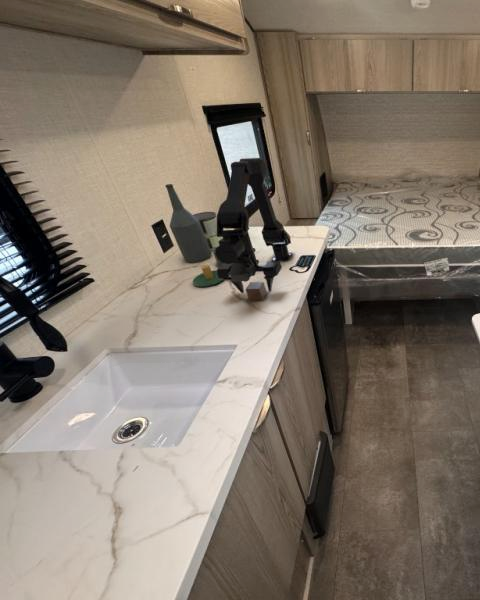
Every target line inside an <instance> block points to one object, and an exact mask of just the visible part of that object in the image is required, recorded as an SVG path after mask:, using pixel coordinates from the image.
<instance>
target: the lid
mask: <svg viewBox="0 0 480 600" xmlns="http://www.w3.org/2000/svg"><path fill="white" fill-rule="evenodd" d="M200 269H201V271H202V272H201V273H200V274H198V275H196V276H195V277H194V278H193V279H192V284H193V285H194V286H195V287H208V286H209V287H210V286H214V285H216V284H219V283H221V282H222V281H224V280H223V278H218V276H217V274H216V271H217V269H216V270H212V268H211V266H210V265H209V264H205V265H203V266H201V268H200Z"/></svg>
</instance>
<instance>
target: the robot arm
mask: <svg viewBox="0 0 480 600" xmlns="http://www.w3.org/2000/svg"><path fill="white" fill-rule="evenodd" d="M230 169H231V174H230V177H229V178H230V179H229V186H228V191H227V194H226V199H225V200H223V202H222V203H221V204H220V206H219V208H218V211H217V213H216V217H217V237H223V239H221V240H219V246H218V247H217V248H216V253H215V254H216V257H217V258H218V259H219V260H220V261H221V262H223V264H222V265H221V266H218V268H217V269H216V270H217V271H216V274H217V276H218V278H223V280H222V281H228V282H230V283H231V284H233V285H234V286H235V288H236V289H237V290H238V291H239V292H240V293H241V294H244V293H245V289H244V285H243V282H244V283H245V282H249V281H250V279H251V277H255V276H256V273H260V272H262V274H263V275H264V277H263V278H264V280H265V281H266V285H267V289H268V292H269V293H272V291H273V290H272V289H273V283H274V278H275V277H277V276H278V275H279V273H280V272H281V270H282V263H281V262H282V261H289V260H290V258H291V257H292V255H293V252H289V248H288V246H289V245H290V244H292V241H291V235H290V234H289V233H288V232H287V230H285V227H284V225H283V223H281V222H280V221H279V220H278V218H277V217H276V213H275V210H274V207H273V205H272V204H273V203H272V201H271V198H270V195H269V191H268V188H267V186H266V180H267V176H268V173H267V171H268V169H267V164H266V162H265V161H264V159H262V158H260V157H247V158H246V157H245V158H244V157H243V158H240V159H239V161H233V162H231V163H230ZM248 186H249V187H250V188H251V191H252V193H253V196H254V199H255V202H256V205H257V208H258V211H259V214H260V217H261V219H262V222H263V226H262V230H261V234H262V239H263V241H264V243H265V245H266V247H271V248H272V251H273V258H272V259H271V260H267V261H266V262H265V264H263V265H259V263H260V260H259V259H257V256H256V254H255V252H256V251H257V250H256V247H254V246H253V244H252V240H251V237H250V234H249V230H250V227H249V223H250V216H249V212H248V210H247V208H246V200H247V199H246V198H247V192H248ZM280 261H281V262H280Z"/></svg>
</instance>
